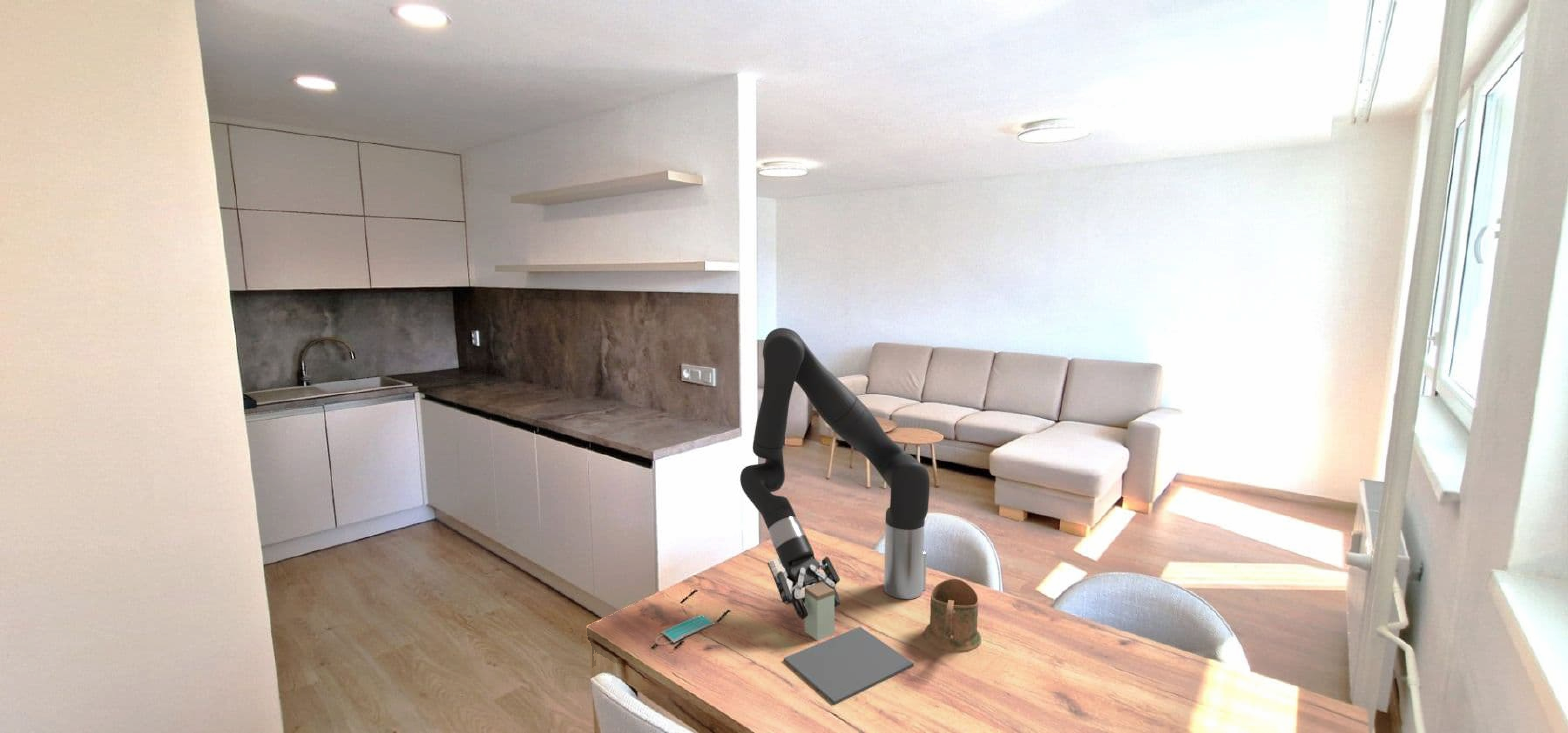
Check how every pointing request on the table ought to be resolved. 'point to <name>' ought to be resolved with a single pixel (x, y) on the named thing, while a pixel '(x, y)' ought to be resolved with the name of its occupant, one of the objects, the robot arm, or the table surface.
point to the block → (819, 610)
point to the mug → (953, 617)
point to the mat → (848, 664)
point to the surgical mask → (687, 626)
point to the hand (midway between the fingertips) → (821, 611)
